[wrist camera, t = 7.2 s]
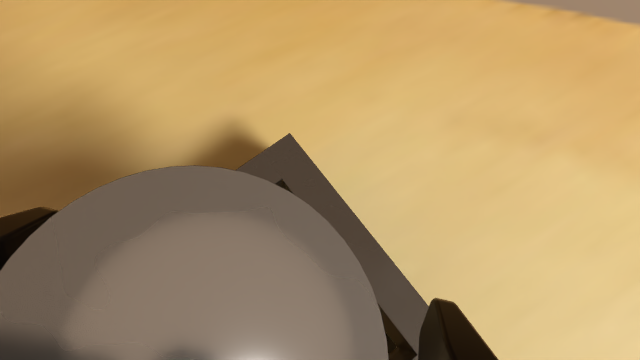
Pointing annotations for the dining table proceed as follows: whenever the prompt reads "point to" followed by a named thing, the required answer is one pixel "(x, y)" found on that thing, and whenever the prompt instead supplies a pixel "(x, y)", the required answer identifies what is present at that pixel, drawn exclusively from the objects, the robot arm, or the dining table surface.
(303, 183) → the collar
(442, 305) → the robot arm
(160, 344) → the tube
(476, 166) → the dining table surface
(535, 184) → the dining table surface
